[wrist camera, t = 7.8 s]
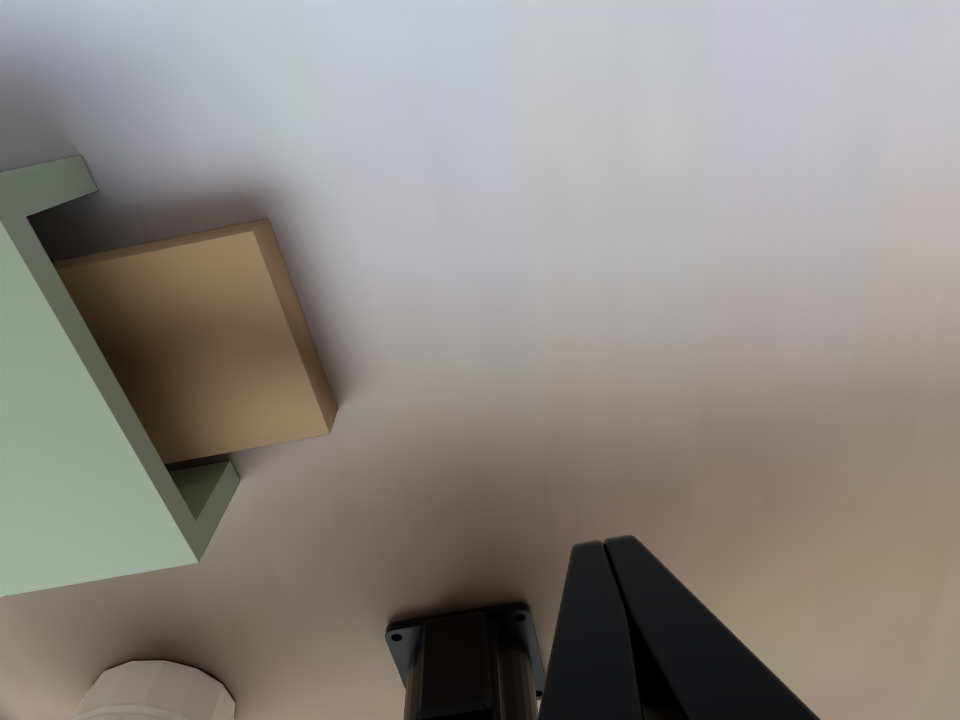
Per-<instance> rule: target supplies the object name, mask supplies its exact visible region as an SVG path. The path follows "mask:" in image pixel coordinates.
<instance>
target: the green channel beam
mask: <svg viewBox="0 0 960 720" xmlns="http://www.w3.org/2000/svg"><path fill="white" fill-rule="evenodd" d="M97 190H98V189H97V187H96V185H95V183H94V181H93V179H92V176H91V174H90V172H89V170H88V168H87V166H86V164H85V162H84V160H83V158H82V156H81V155H78V156H73V157H68V158H64V159H59V160H54V161H50V162H45V163H40V164H35V165H31V166H26V167H21V168H17V169H12V170H7V171H2V172H0V597H2V596H8V595H14V594H20V593H26V592H31V591H37V590H43V589H49V588H55V587H61V586H66V585H72V584H78V583H84V582H90V581H96V580H102V579H107V578H113V577H119V576H125V575H131V574H137V573H142V572H148V571H154V570H160V569H166V568H172V567H177V566H183V565H189V564H195V563H199V562H200V560H201V558H202V556H203V554H204V552H205V550H206V548H207V546H208V544H209V542H210V540H211V538H212V536H213V534H214V532H215V530H216V528H217V526H218V524H219V522H220V520H221V518H222V516H223V514H224V512H225V510H226V508H227V506H228V504H229V503H230V501H231V499H232V497H233V495H234V493H235V491H236V489H237V487H238V485H239V483H240V480H239V478H238V476H237V474H236V471H235V469H234V467H233V465H232V463H231V461H225V462H219V463H214V464H208V465H203V466H197V467H191V468H186V469H180V470H175V471H169V472H168V471H167V469H166V467H165V465H164V464H163V462H162V460H161V458H160V456H159V455H158V453H157V451H156V449H155V447H154V446H153V444H152V442H151V440H150V438H149V437H148V435H147V433H146V431H145V430H144V428H143V426H142V424H141V422H140V421H139V419H138V417H137V415H136V413H135V412H134V410H133V408H132V406H131V404H130V403H129V401H128V399H127V397H126V395H125V394H124V392H123V390H122V388H121V386H120V385H119V383H118V381H117V379H116V377H115V376H114V374H113V372H112V370H111V368H110V367H109V365H108V363H107V361H106V360H105V358H104V356H103V354H102V352H101V351H100V349H99V347H98V345H97V343H96V342H95V340H94V338H93V336H92V334H91V333H90V331H89V329H88V327H87V325H86V324H85V322H84V320H83V318H82V316H81V315H80V313H79V311H78V309H77V307H76V306H75V304H74V302H73V300H72V299H71V297H70V295H69V293H68V291H67V290H66V288H65V286H64V284H63V282H62V281H61V279H60V277H59V275H58V273H57V272H56V270H55V268H54V266H53V264H52V263H51V261H50V259H49V257H48V255H47V254H46V252H45V250H44V248H43V246H42V245H41V243H40V241H39V239H38V238H37V236H36V234H35V232H34V230H33V229H32V227H31V225H30V223H29V221H28V220H27V218H26V217H27V216H29V215H32V214H35V213H37V212H40V211H43V210H46V209H48V208H51V207H54V206H57V205H59V204H62V203H65V202H67V201H70V200H73V199H76V198H78V197H81V196H84V195H87V194H89V193H92V192H95V191H97Z"/></svg>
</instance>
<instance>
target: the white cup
mask: <svg viewBox="0 0 960 720" xmlns="http://www.w3.org/2000/svg"><path fill="white" fill-rule="evenodd" d="M234 713H235V702H234V700H233V699H232V697H231V696H230V694H229V693H228V691H227V690H226V688H225V687H224V686H223V684H222V683H220V682H219V681H217V680H216V679H214V678H212V677H211V676H209V675H207V674H206V673H204V672H202V671H201V670H199V669H197V668H193V667H190V666H186V665H182V664H178V663H174V662H170V661H165V660H149V661H130V662H127V663H124V664H122V665H119V666H116V667H114V668H111V669H108V670H106V671H104V672H103V673H102V674H101V675H100V676H99V678H98V679H97V680H96V681H95V682H94V684H93V685H92V686H91V687H90V689H89V690H88V691H87V693H86V694H85V696H84V698H83V699H82V701H81V702H80V704H79V706H78V707H77V709H76V710H75V712H74V714H73V715H72V717H71V718H70V720H234Z"/></svg>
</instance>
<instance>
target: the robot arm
mask: <svg viewBox="0 0 960 720" xmlns="http://www.w3.org/2000/svg"><path fill="white" fill-rule="evenodd" d="M385 638H386V642H387V644H388V647H389V649H390V651H391V654H392V656H393V659H394V661H395V664H396V666H397V669H398V671H399V674H400V676H401V679H402V681H403V684H404V686H405V689H406V696H405V708H404V720H820V719H819V718H818V717H817V716H816V715H815V714H814V713H813V712H812V711H811V710H810V709H809V708H808V707H807V706H806V705H805V704H804V703H803V702H802V701H801V700H800V699H799V698H798V697H797V696H796V695H795V694H794V693H793V692H792V691H791V690H790V689H789V688H788V687H787V686H786V685H785V684H784V683H783V682H782V681H781V680H780V679H779V678H778V677H777V676H776V675H775V674H774V673H773V672H772V671H771V670H770V669H769V668H768V667H767V666H766V665H765V664H764V663H763V662H762V661H761V660H759V659H758V658H757V657H756V656H755V655H754V654H753V653H752V652H751V651H750V650H749V649H748V648H747V647H746V646H745V645H744V644H743V643H742V642H741V641H740V640H739V639H738V638H737V637H736V636H735V635H734V634H733V633H732V632H731V631H730V630H729V629H728V628H727V627H726V626H725V625H724V624H723V623H722V622H721V621H720V620H719V619H718V618H717V617H716V616H715V615H714V614H713V613H712V612H711V611H710V610H709V609H708V608H707V607H706V606H705V605H704V604H703V603H702V602H701V601H700V600H699V599H698V598H697V597H696V596H695V595H693V594H692V593H691V592H690V591H689V590H688V589H687V588H686V587H685V586H684V585H683V584H682V583H681V582H680V581H679V580H678V579H677V578H676V577H675V576H674V575H673V574H672V573H671V572H670V571H669V570H668V569H667V568H666V567H665V566H664V565H663V564H662V563H661V562H660V561H659V560H658V559H657V558H656V557H655V556H654V555H653V554H652V553H651V552H650V551H649V550H648V549H647V548H646V547H645V546H644V545H643V544H642V543H641V542H640V541H639V540H638V539H636V538H635V537H634V536H632V535H624V536H618V537H612V538H607V539H606V540H605V541H604V543H602V542H601V541H599V540H595V541H589V542H583V543H577V544H575V545H574V546H573V547H572V550H571V555H570V560H569V565H568V570H567V575H566V580H565V585H564V590H563V595H562V600H561V605H560V610H559V615H558V620H557V625H556V630H555V635H554V639H553V644H552V649H551V654H550V659H549V664H548V669H547V674H546V679H545V675H544V670H543V666H542V661H541V657H540V652H539V647H538V643H537V638H536V634H535V629H534V624H533V620H532V615H531V611H530V607H529V605H527V604H526V603H523V602H516V603H510V604H504V605H498V606H491V607H485V608H479V609H473V610H467V611H461V612H454V613H448V614H442V615H436V616H430V617H424V618H418V619H411V620H405V621H399V622H394V623H391V624H389V625H388V626H387V628H386V635H385ZM537 700H541V704H540V709H539V714H538V707H537Z"/></svg>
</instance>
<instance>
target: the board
mask: <svg viewBox="0 0 960 720" xmlns="http://www.w3.org/2000/svg"><path fill="white" fill-rule="evenodd" d="M51 263H52V264H53V266H54V268H55V270H56V272H57V273H58V275H59V277H60V279H61V281H62V282H63V284H64V286H65V288H66V290H67V291H68V293H69V295H70V297H71V299H72V300H73V302H74V304H75V306H76V307H77V309H78V311H79V313H80V315H81V316H82V318H83V320H84V322H85V324H86V325H87V327H88V329H89V331H90V333H91V334H92V336H93V338H94V340H95V342H96V343H97V345H98V347H99V349H100V351H101V352H102V354H103V356H104V358H105V360H106V361H107V363H108V365H109V367H110V368H111V370H112V372H113V374H114V376H115V377H116V379H117V381H118V383H119V385H120V386H121V388H122V390H123V392H124V394H125V395H126V397H127V399H128V401H129V403H130V404H131V406H132V408H133V410H134V412H135V413H136V415H137V417H138V419H139V421H140V422H141V424H142V426H143V428H144V430H145V431H146V433H147V435H148V437H149V438H150V440H151V442H152V444H153V446H154V447H155V449H156V451H157V453H158V455H159V456H160V458H161V460H162V462H163V464H168V463H174V462H179V461H185V460H190V459H196V458H201V457H207V456H212V455H218V454H223V453H229V452H235V451H240V450H246V449H251V448H257V447H262V446H268V445H273V444H279V443H284V442H290V441H296V440H301V439H307V438H312V437H318V436H323V435H329V434H330V432H331V429H332V426H333V423H334V420H335V417H336V414H337V411H338V408H337V406H336V403H335V400H334V397H333V395H332V392H331V389H330V386H329V383H328V381H327V378H326V375H325V372H324V370H323V367H322V364H321V361H320V359H319V356H318V353H317V350H316V347H315V345H314V342H313V339H312V336H311V334H310V331H309V328H308V325H307V323H306V320H305V317H304V314H303V311H302V309H301V306H300V303H299V300H298V298H297V295H296V292H295V289H294V287H293V284H292V281H291V278H290V275H289V273H288V270H287V267H286V264H285V262H284V259H283V256H282V253H281V251H280V248H279V245H278V242H277V239H276V237H275V234H274V231H273V228H272V226H271V223H270V220H269V218H266V219H261V220H256V221H251V222H246V223H241V224H236V225H231V226H226V227H221V228H216V229H212V230H207V231H202V232H197V233H192V234H187V235H182V236H177V237H172V238H167V239H162V240H157V241H152V242H148V243H143V244H138V245H133V246H128V247H123V248H118V249H113V250H108V251H103V252H98V253H93V254H88V255H84V256H79V257H74V258H69V259H64V260H59V261H54V262H51Z"/></svg>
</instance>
